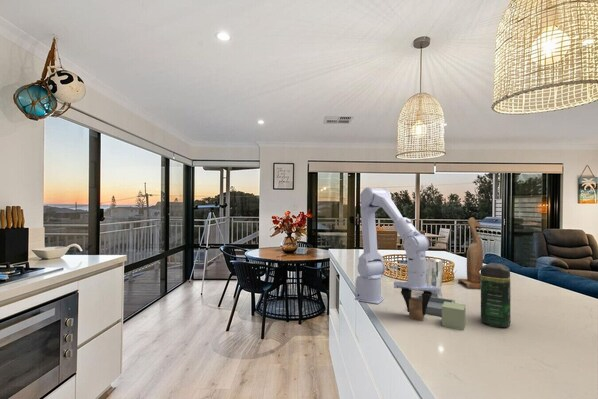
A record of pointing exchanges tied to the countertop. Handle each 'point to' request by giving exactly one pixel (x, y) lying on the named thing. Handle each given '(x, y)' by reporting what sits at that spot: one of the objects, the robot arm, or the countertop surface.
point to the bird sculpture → (474, 258)
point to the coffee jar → (495, 295)
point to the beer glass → (434, 274)
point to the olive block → (453, 315)
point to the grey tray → (435, 305)
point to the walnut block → (416, 308)
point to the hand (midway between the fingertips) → (416, 312)
